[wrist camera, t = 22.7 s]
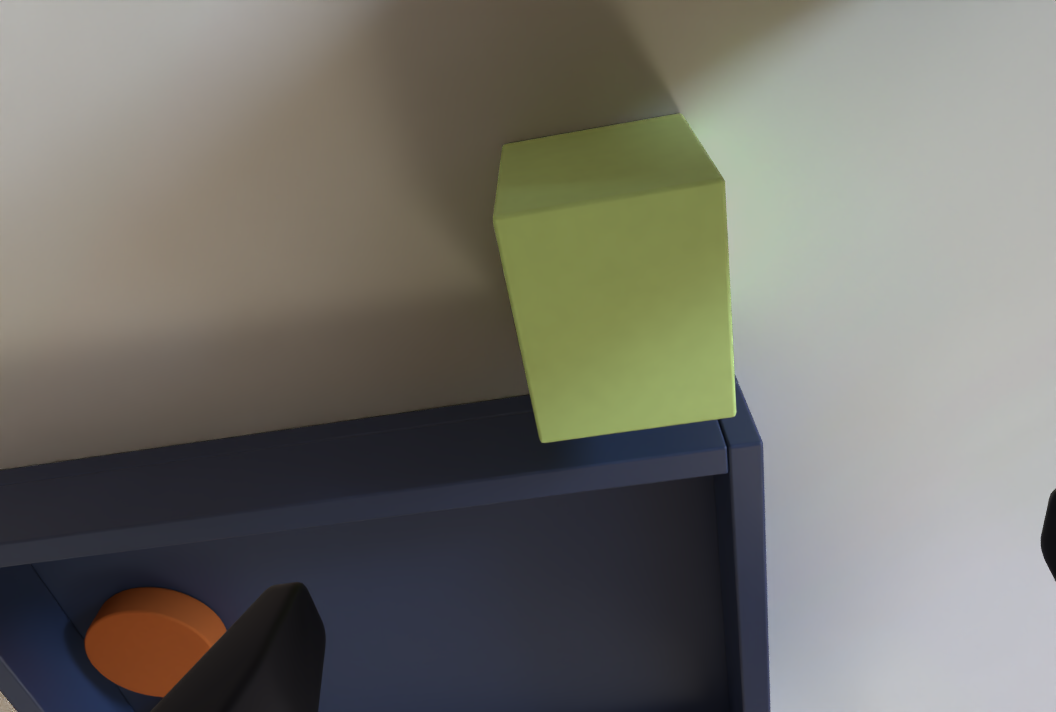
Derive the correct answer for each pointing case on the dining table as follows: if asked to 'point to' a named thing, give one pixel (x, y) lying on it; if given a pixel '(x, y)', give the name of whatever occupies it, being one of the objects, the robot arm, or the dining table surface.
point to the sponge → (618, 277)
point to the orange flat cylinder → (150, 638)
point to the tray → (417, 560)
